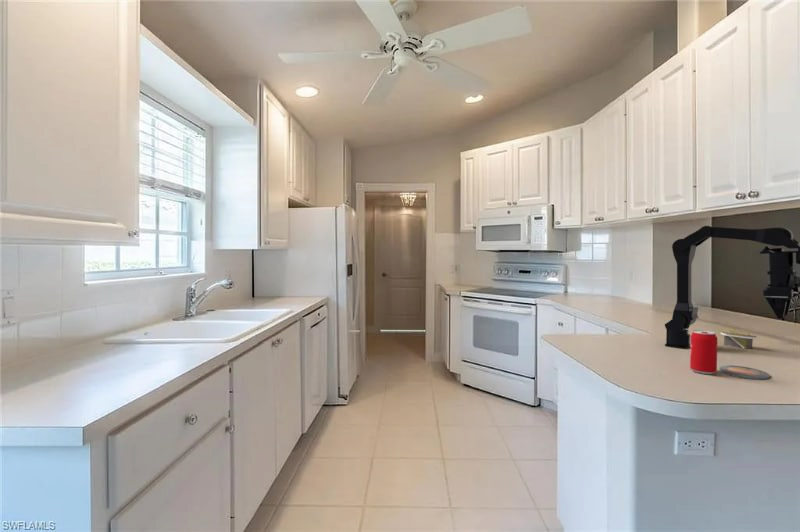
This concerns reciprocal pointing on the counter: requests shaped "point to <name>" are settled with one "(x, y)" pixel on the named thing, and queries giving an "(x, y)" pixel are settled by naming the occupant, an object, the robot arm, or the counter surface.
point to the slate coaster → (744, 372)
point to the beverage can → (703, 352)
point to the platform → (738, 339)
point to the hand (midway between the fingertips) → (782, 317)
